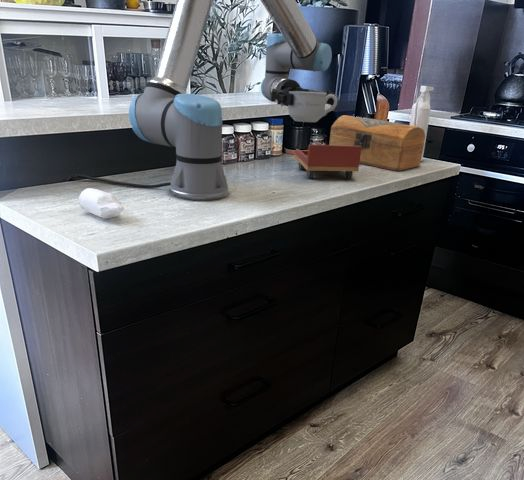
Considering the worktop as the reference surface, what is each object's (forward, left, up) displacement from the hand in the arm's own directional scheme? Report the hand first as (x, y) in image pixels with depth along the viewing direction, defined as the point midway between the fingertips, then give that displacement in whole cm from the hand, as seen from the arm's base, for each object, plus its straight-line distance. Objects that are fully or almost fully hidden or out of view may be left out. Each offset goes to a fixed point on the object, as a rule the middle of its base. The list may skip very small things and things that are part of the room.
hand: (313, 100), depth 147 cm
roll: (-55, -38, -22) cm, 70 cm away
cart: (+8, +10, -22) cm, 25 cm away
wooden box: (+31, +30, -22) cm, 49 cm away
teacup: (0, +2, -6) cm, 6 cm away
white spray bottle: (+48, +34, -22) cm, 63 cm away
